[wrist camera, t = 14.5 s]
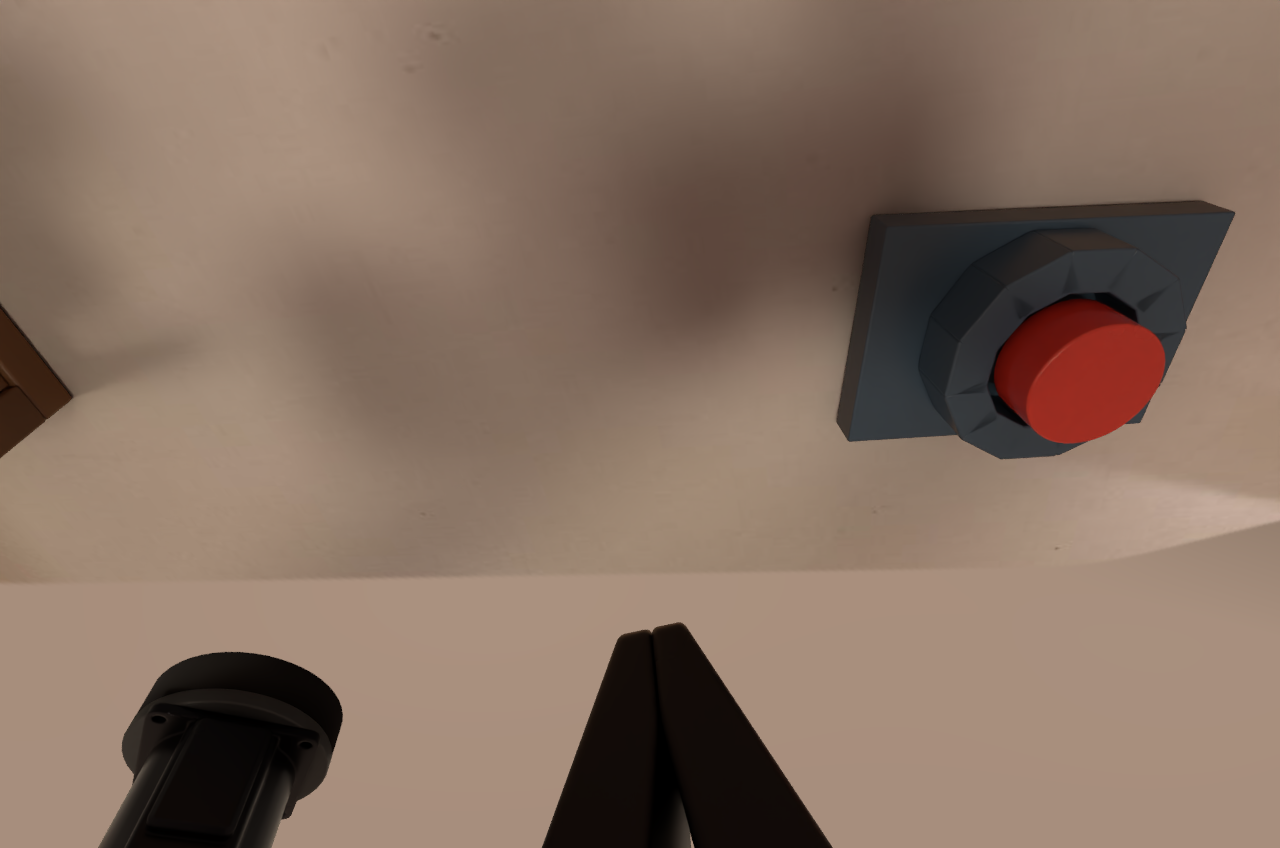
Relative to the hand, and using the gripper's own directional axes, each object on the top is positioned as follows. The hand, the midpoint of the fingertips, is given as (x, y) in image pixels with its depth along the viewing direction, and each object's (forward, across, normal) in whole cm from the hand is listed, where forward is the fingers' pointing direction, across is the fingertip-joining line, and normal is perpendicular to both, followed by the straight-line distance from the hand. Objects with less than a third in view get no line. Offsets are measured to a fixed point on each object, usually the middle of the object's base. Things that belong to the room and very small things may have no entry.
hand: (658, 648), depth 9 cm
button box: (+13, -12, +4) cm, 18 cm away
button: (+10, -12, +4) cm, 16 cm away
